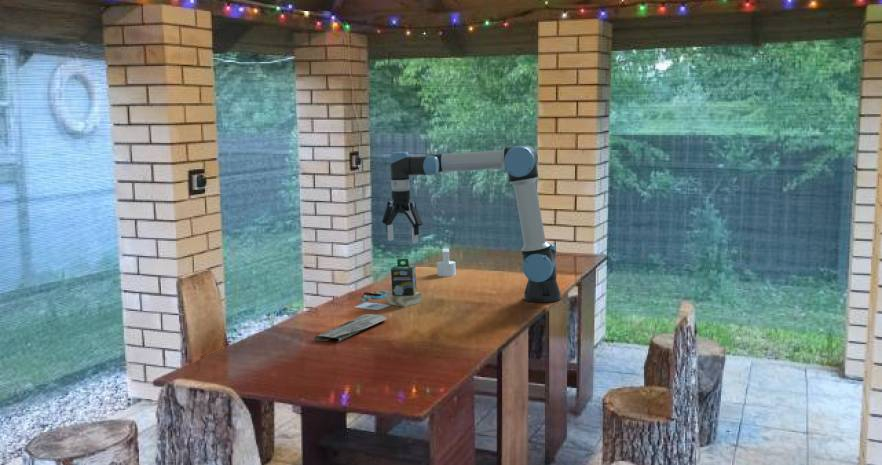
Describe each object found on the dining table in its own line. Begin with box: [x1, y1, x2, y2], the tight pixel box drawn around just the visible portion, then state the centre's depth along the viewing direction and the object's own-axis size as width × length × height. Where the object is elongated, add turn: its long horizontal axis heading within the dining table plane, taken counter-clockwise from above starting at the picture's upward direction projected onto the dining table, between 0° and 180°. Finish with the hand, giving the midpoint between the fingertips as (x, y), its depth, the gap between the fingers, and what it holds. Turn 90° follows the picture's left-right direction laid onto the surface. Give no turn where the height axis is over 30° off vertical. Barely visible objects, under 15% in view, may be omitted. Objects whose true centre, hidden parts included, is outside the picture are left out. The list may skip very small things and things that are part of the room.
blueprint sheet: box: [353, 301, 391, 311], centre depth 347 cm, size 12×9×1 cm
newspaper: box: [313, 313, 389, 344], centre depth 310 cm, size 35×12×4 cm, turn 155°
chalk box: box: [390, 258, 418, 296], centre depth 350 cm, size 9×9×15 cm
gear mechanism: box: [360, 285, 390, 303], centre depth 366 cm, size 20×5×9 cm
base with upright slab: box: [436, 248, 457, 278], centre depth 408 cm, size 9×9×12 cm
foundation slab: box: [386, 291, 423, 308], centre depth 351 cm, size 10×10×4 cm
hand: (402, 241), depth 348 cm, fingers open, 13 cm apart
